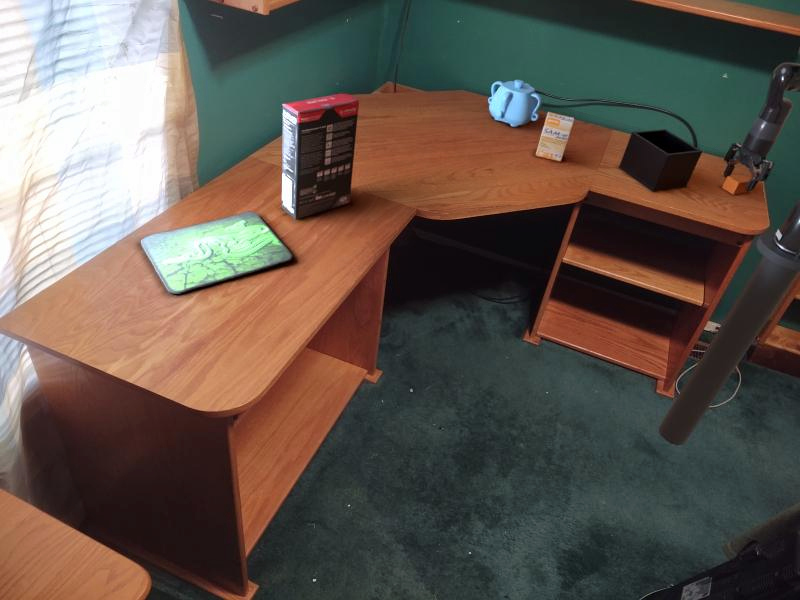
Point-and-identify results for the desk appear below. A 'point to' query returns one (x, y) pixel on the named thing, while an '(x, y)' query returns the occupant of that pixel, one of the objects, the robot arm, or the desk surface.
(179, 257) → the mouse mat
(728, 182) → the orange rectangular block
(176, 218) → the desk surface
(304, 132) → the graphics card box
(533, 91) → the decorative pot
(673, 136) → the waste bin
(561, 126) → the supplement box
